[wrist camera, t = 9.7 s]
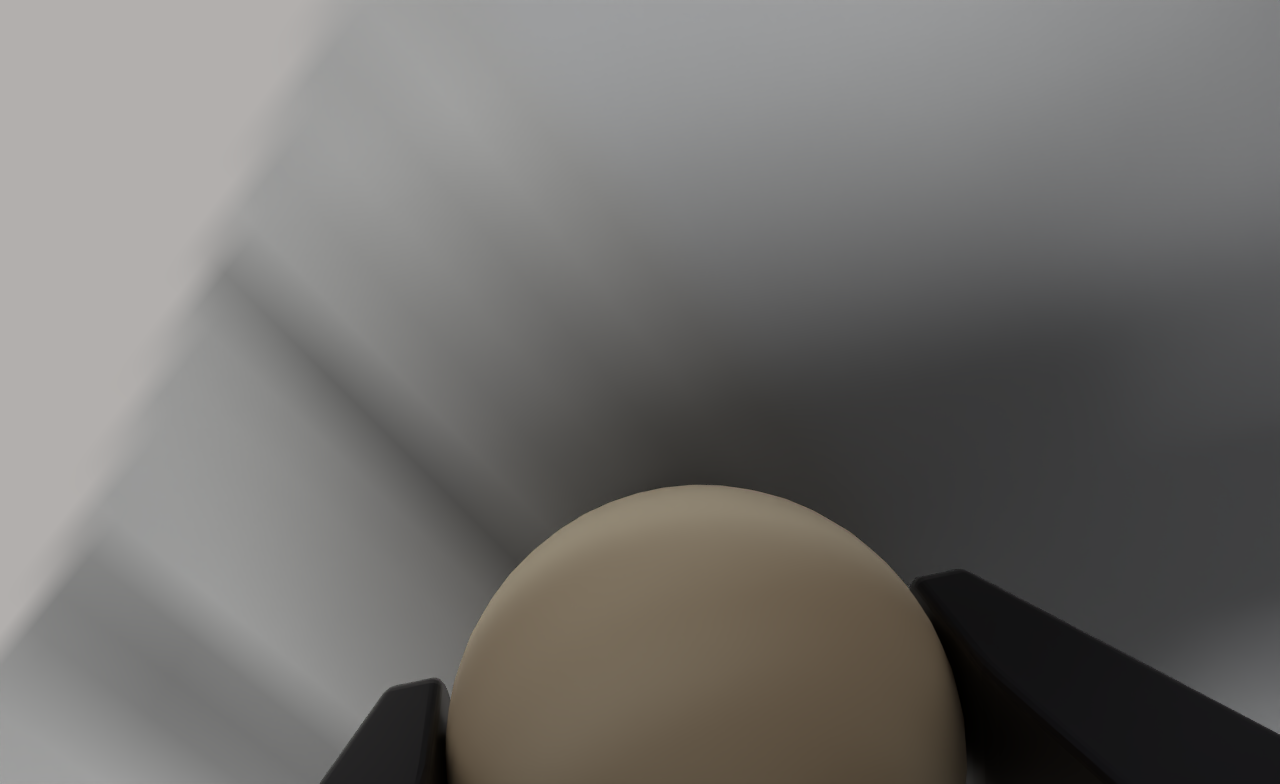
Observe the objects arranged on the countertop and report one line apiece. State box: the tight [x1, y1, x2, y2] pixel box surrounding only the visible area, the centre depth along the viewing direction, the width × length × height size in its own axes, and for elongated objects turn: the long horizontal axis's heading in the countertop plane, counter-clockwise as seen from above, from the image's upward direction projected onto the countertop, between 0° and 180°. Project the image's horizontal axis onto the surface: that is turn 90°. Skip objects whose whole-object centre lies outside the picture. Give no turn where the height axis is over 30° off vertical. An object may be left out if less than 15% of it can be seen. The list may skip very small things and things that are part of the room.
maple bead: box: [445, 485, 967, 784], centre depth 8 cm, size 4×4×4 cm
